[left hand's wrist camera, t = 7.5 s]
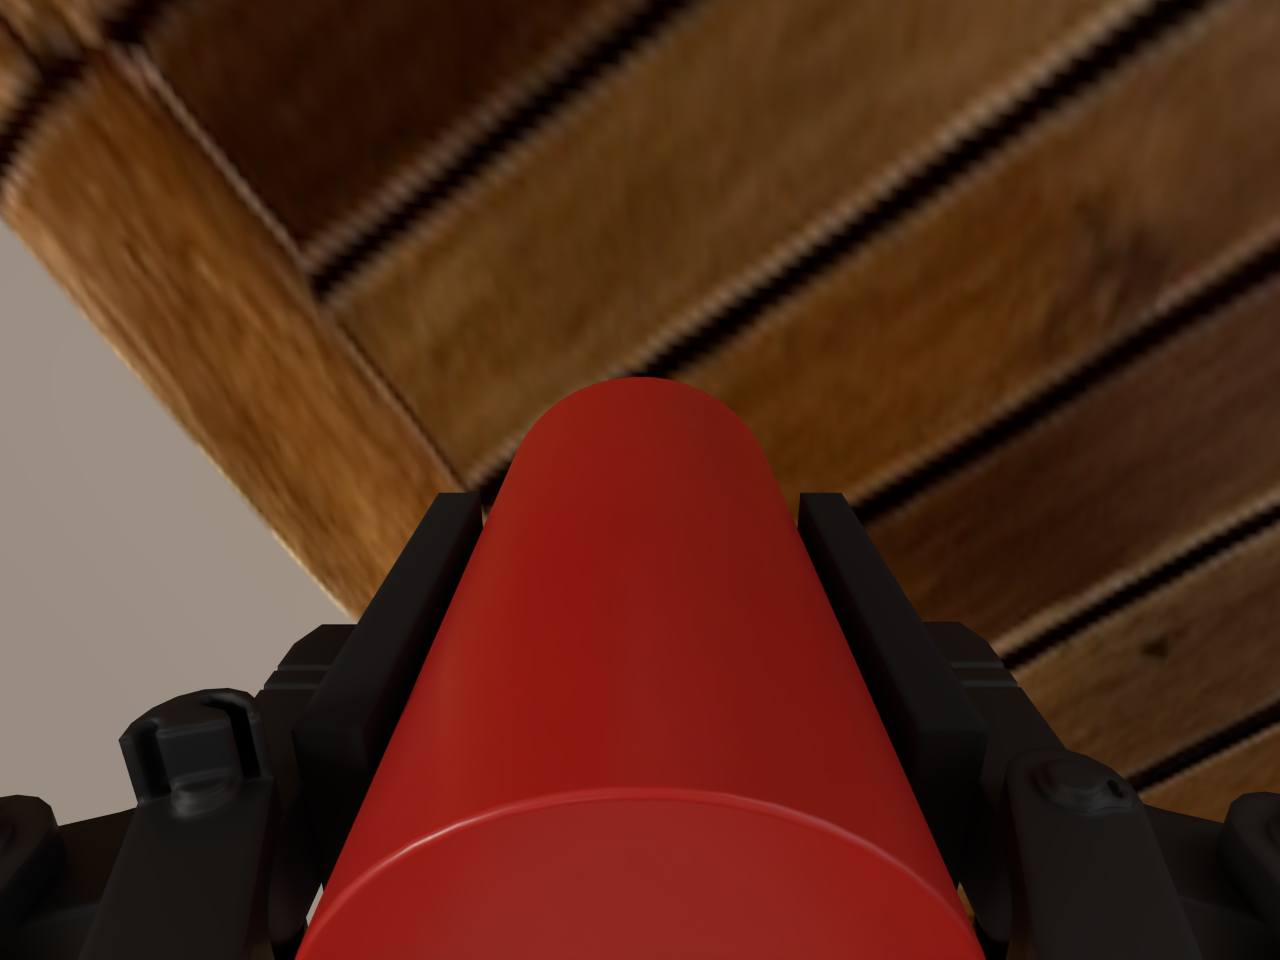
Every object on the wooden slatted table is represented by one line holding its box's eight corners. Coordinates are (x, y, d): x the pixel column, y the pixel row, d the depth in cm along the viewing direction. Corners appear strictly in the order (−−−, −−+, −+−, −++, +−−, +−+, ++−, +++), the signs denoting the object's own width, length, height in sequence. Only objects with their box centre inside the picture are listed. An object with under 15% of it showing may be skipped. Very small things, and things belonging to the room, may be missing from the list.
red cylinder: (464, 426, 16) (133, 908, 6) (730, 337, 16) (925, 695, 5) (563, 649, 19) (455, 1314, 8) (802, 580, 18) (1050, 1202, 7)
